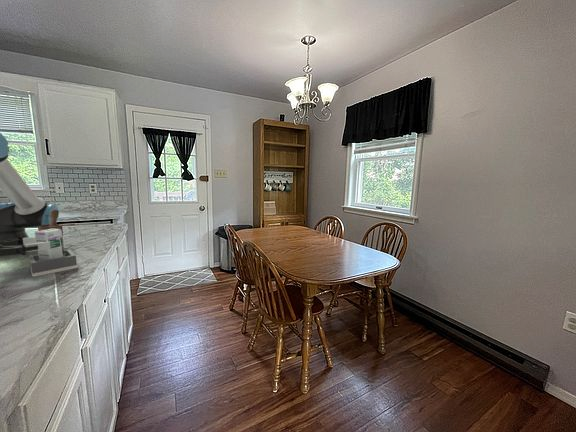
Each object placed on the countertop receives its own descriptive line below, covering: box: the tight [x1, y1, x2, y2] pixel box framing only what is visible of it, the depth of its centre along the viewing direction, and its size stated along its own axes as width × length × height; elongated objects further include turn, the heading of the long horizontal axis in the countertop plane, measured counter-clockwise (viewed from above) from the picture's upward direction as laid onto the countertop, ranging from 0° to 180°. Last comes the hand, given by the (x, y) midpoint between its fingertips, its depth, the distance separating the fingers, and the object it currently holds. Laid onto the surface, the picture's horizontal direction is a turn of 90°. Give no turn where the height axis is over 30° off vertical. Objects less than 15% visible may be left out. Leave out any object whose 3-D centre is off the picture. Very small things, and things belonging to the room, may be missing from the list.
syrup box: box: [34, 229, 65, 261], centre depth 102 cm, size 6×6×14 cm
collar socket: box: [28, 248, 79, 278], centre depth 103 cm, size 13×13×5 cm
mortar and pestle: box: [37, 209, 64, 238], centre depth 124 cm, size 12×9×20 cm
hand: (48, 241), depth 101 cm, fingers open, 13 cm apart
